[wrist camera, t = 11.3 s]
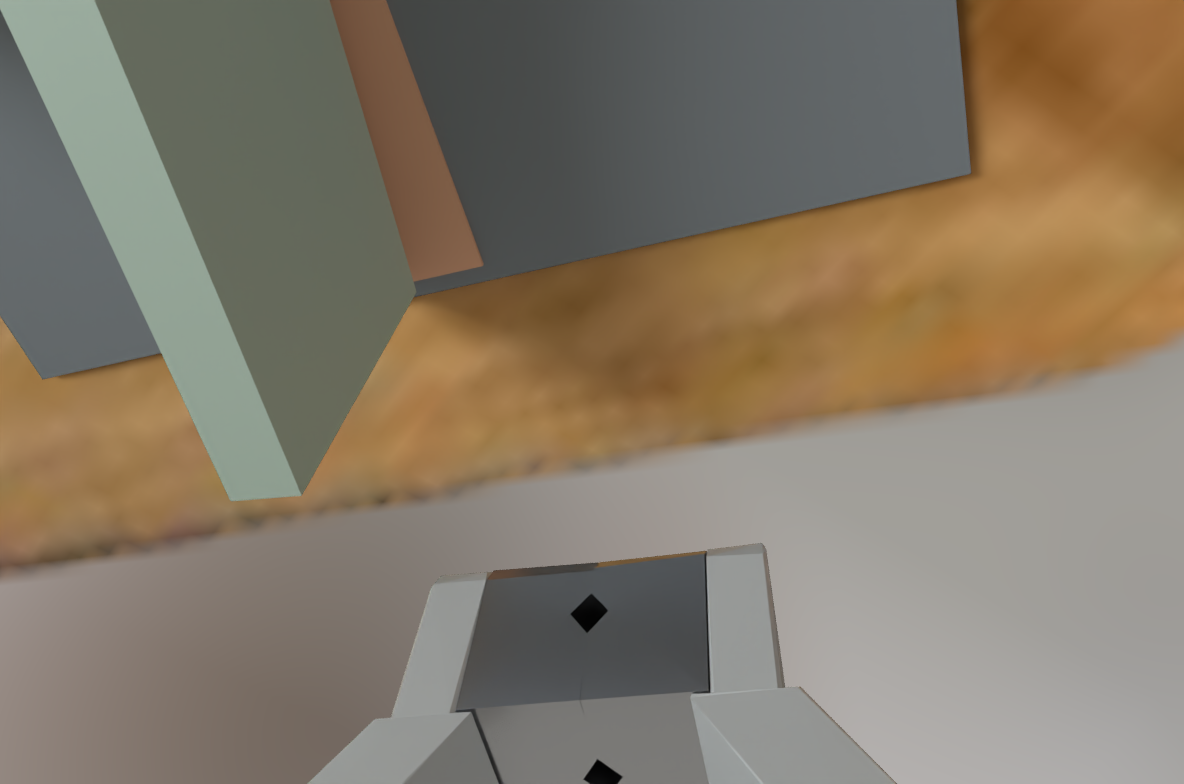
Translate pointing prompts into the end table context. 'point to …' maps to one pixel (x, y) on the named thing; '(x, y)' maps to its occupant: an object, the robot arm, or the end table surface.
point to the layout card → (541, 140)
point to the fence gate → (232, 209)
